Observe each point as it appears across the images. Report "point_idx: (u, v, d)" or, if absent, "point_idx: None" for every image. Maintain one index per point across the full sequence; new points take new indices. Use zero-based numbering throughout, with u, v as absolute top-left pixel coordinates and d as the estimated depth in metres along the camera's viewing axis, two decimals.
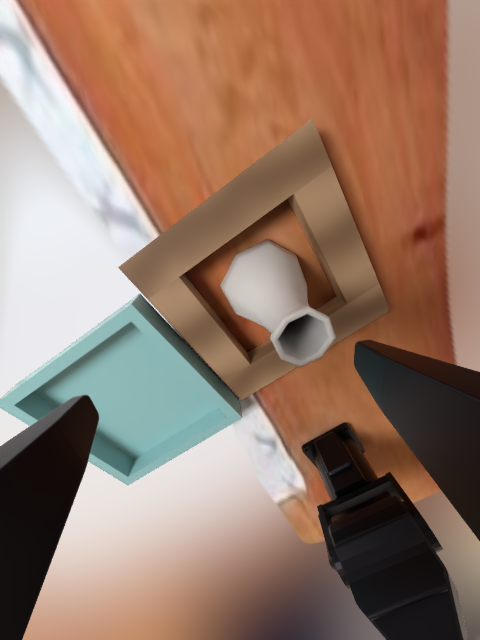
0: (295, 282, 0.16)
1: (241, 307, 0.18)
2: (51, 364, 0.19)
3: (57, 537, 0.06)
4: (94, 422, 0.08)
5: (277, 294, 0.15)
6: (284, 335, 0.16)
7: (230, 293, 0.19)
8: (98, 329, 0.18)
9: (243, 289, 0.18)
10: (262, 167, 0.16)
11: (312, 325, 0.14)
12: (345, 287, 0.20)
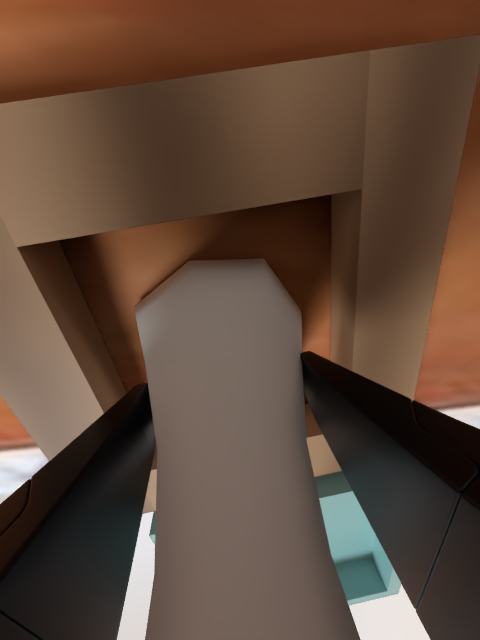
0: (191, 376, 0.06)
1: None
2: None
3: (139, 519, 0.06)
4: None
5: None
6: None
7: None
8: None
9: None
10: None
11: (303, 548, 0.03)
12: (314, 180, 0.07)
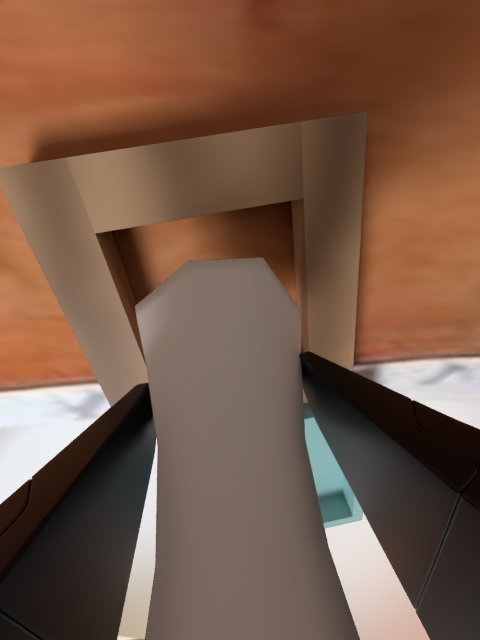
0: (191, 374, 0.06)
1: None
2: None
3: (140, 519, 0.06)
4: None
5: None
6: None
7: None
8: None
9: None
10: (51, 264, 0.12)
11: (301, 540, 0.03)
12: (273, 193, 0.11)
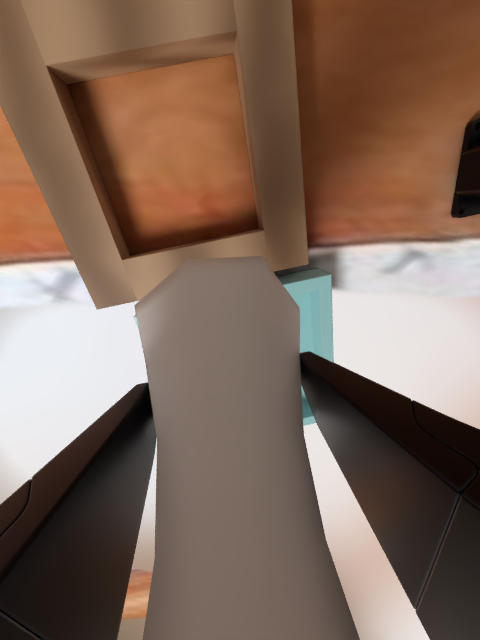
0: (190, 371, 0.06)
1: None
2: None
3: (140, 519, 0.06)
4: None
5: None
6: None
7: None
8: None
9: None
10: (8, 99, 0.13)
11: (297, 532, 0.03)
12: (208, 23, 0.12)
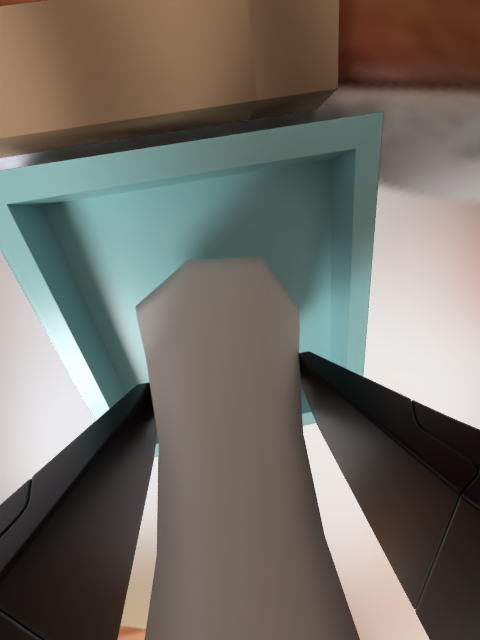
0: (190, 371, 0.06)
1: None
2: (73, 376, 0.12)
3: (140, 519, 0.06)
4: None
5: None
6: None
7: None
8: (16, 274, 0.10)
9: None
10: None
11: (296, 529, 0.03)
12: None
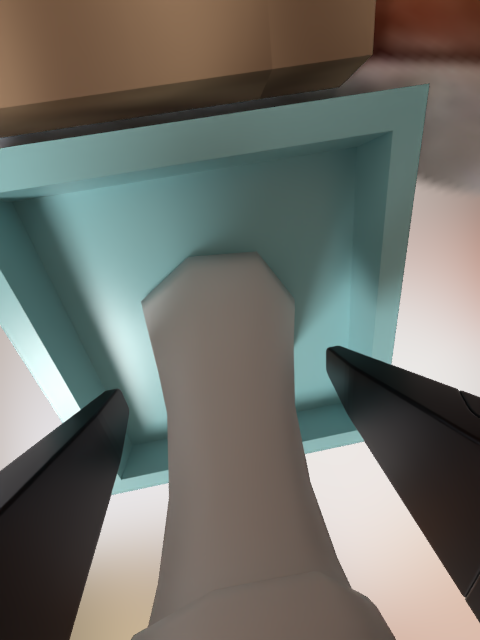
0: (194, 354, 0.06)
1: None
2: (52, 401, 0.10)
3: (99, 528, 0.06)
4: (126, 416, 0.08)
5: None
6: None
7: None
8: None
9: None
10: None
11: (284, 472, 0.04)
12: None
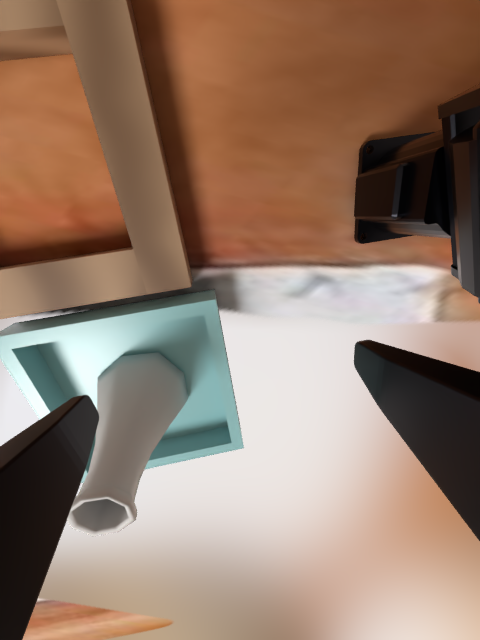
0: (109, 417, 0.16)
1: None
2: None
3: (57, 537, 0.06)
4: (94, 422, 0.08)
5: None
6: (146, 459, 0.15)
7: None
8: (15, 380, 0.17)
9: None
10: None
11: (122, 464, 0.13)
12: (26, 15, 0.11)
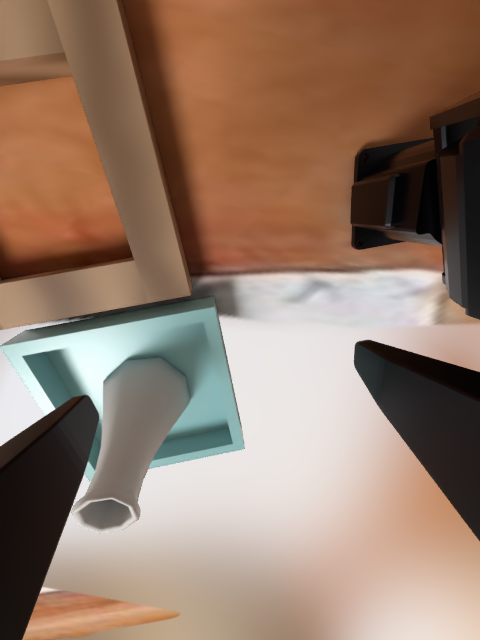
0: (114, 421, 0.16)
1: None
2: None
3: (57, 538, 0.06)
4: (94, 422, 0.08)
5: None
6: (149, 461, 0.16)
7: None
8: (26, 384, 0.18)
9: None
10: None
11: (126, 466, 0.14)
12: (29, 44, 0.11)
